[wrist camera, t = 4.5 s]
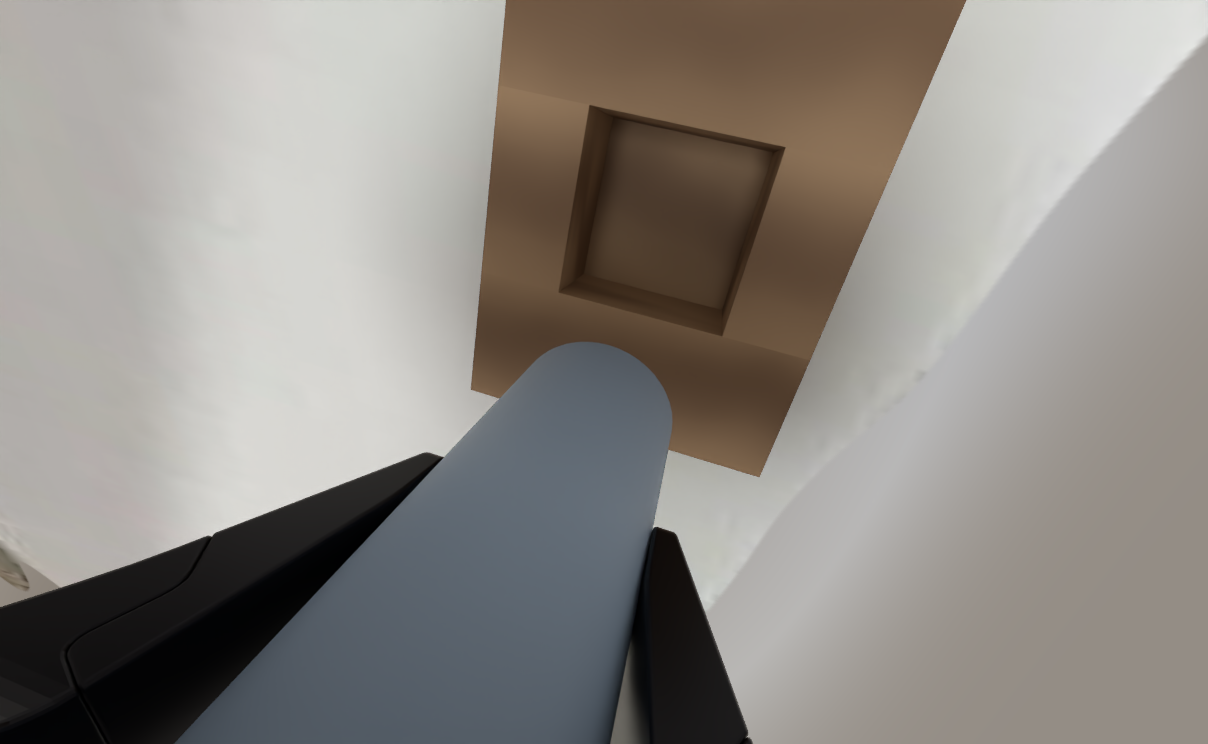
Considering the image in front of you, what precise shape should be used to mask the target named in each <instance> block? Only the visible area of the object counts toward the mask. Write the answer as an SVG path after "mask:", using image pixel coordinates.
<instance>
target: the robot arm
mask: <svg viewBox="0 0 1208 744" xmlns="http://www.w3.org/2000/svg"><path fill="white" fill-rule="evenodd" d="M443 458H444V457H441V456H438V455H435V454H432V453H428V452H426V453H422V454H419V455H416V456H414V457H411V458H409V459H406V460H404V461H401V462H398V463H396V464H393V465H391V466H388V467H385V468H383V469H380V470H378V471H375V472H372V473H370V474H367V475H365V476H362V477H359V478H357V479H354V480H352V481H349V482H346V483H344V484H341V485H339V486H336V487H333V488H331V489H328V490H326V491H323V492H320V493H318V494H315V495H313V496H310V497H307V498H305V499H302V500H300V501H297V502H294V503H292V504H289V505H287V506H284V507H281V508H279V509H276V510H274V511H271V512H268V513H266V514H263V515H261V516H258V517H255V518H253V519H250V520H248V521H245V522H242V523H240V524H237V525H235V526H232V527H229V528H227V529H224V530H222V531H219V532H216V533H215V534H214V535H213V536H212V537H211V536H206V537H203V538H200V539H198V540H195V541H193V542H190V543H187V544H185V545H182V546H180V547H177V548H174V549H171V550H169V551H166V552H163V553H161V554H158V555H155V556H152V557H150V558H147V559H144V560H142V561H139V562H136V563H133V564H131V565H128V566H125V567H122V568H119V569H116V570H113V571H110V572H107V573H104V574H101V575H98V576H95V577H92V578H89V579H86V580H83V581H80V582H77V583H74V584H71V585H68V586H65V587H62V588H58V589H56V590H52V591H49V592H46V593H43V594H40V595H37V596H34V597H31V598H27V599H24V600H21V601H18V602H15V603H12V604H9V605H6V606H3V607H0V744H174V743H175V742H176V741H177V740H178V739H179V738H180V737H181V736H182V735H183V734H184V732H185V731H186V730H187V729H188V728H189V727H190V726H191V725H192V724H193V723H194V722H195V721H196V720H197V719H198V718H199V717H200V716H201V714H202V713H203V712H204V711H205V710H206V709H207V708H208V707H209V706H210V705H211V704H212V703H213V702H214V701H215V700H216V699H217V697H218V696H219V695H220V694H221V693H222V692H223V691H224V690H225V689H226V688H227V687H228V686H229V685H230V684H231V683H232V682H233V681H234V679H235V678H236V677H237V676H238V675H239V674H240V673H241V672H242V671H243V670H244V669H245V668H246V667H247V666H248V665H249V664H250V663H251V661H252V660H253V659H254V658H255V657H256V656H257V655H258V654H259V653H260V652H261V651H262V650H263V649H264V648H265V647H266V646H267V645H268V643H269V642H270V641H271V640H272V639H273V638H274V637H275V636H276V635H277V634H278V633H279V632H280V631H281V630H282V629H283V628H284V626H285V625H286V624H287V623H288V622H289V621H290V620H291V619H292V618H293V617H294V616H295V615H296V614H297V613H298V612H299V611H300V610H301V608H302V607H303V606H304V605H305V604H306V603H307V602H308V601H309V600H310V599H311V598H312V597H313V596H314V595H315V594H316V593H317V592H318V590H319V589H320V588H321V587H322V586H323V585H324V584H325V583H326V582H327V581H328V580H329V579H330V578H331V577H332V576H333V575H334V574H335V572H336V571H337V570H338V569H339V568H340V567H341V566H342V565H343V564H344V563H345V562H346V561H347V560H348V559H349V558H350V557H351V556H352V554H353V553H354V552H355V551H356V550H357V549H358V548H359V547H360V546H361V545H362V544H363V543H364V542H365V541H366V540H367V539H368V537H369V536H370V535H371V534H372V533H373V532H374V531H375V530H376V529H377V528H378V527H379V526H380V525H381V524H382V523H383V522H384V521H385V519H386V518H387V517H388V516H389V515H390V514H391V513H392V512H393V511H394V510H395V509H396V508H397V507H398V506H399V505H400V504H401V503H402V501H403V500H404V499H405V498H406V497H407V496H408V495H409V494H410V493H411V492H412V491H413V490H414V489H415V488H416V487H417V486H418V485H419V483H420V482H421V481H422V480H423V479H424V478H425V477H426V476H427V475H428V474H429V473H430V472H431V471H432V470H433V469H434V468H435V467H436V465H437V464H438V463H439V462H440V461H441V460H442V459H443ZM747 736H748V730H747V727H746V724H745V721H744V719H743V716H742V713H741V711H740V708H739V705H738V702H737V699H736V697H735V694H734V691H733V688H732V686H731V683H730V680H729V678H728V675H727V672H726V669H725V666H724V664H723V661H722V658H721V655H720V653H719V650H718V647H717V645H716V642H715V639H714V636H713V633H712V631H711V628H710V625H709V622H708V620H707V617H706V614H705V611H704V609H703V606H702V603H701V600H700V598H699V595H698V592H697V589H696V587H695V584H694V581H693V578H692V576H691V573H690V570H689V567H688V565H687V562H686V559H685V556H684V554H683V551H682V548H681V545H680V543H679V540H678V537H677V535H676V534H675V533H674V532H671V531H668V530H665V529H662V528H659V527H655V528H653V530H652V532H651V537H650V542H649V547H648V552H647V557H646V562H645V567H644V572H643V577H642V582H641V588H640V593H639V599H638V605H637V610H636V615H635V620H634V625H633V630H632V636H631V641H630V646H629V651H628V656H627V661H626V666H625V671H624V676H623V681H622V686H621V692H620V697H619V702H618V707H617V712H616V717H615V722H614V727H613V732H612V737H611V742H610V744H753V743H752V740H751V739H750V738H748V737H747ZM746 737H747V738H746Z"/></svg>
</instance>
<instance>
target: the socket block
mask: <svg viewBox="0 0 1208 744" xmlns="http://www.w3.org/2000/svg"><path fill="white" fill-rule="evenodd" d="M965 2H966V0H506V8H505V19H504V30H503V41H502V52H501V63H500V74H499V85H498V96H497V107H496V118H495V129H494V140H493V151H492V162H491V173H490V184H489V195H488V207H487V218H486V229H485V240H484V251H483V262H482V273H481V284H480V295H479V306H478V317H477V328H476V339H475V350H474V361H473V372H472V383H471V390H474V391H477V392H481V393H484V394H487V395H490V396H494V397H497V398H501V397H502V396H503V394H504V393H505V392H506V391H507V390H508V389H509V388H510V387H511V386H512V385H513V384H514V383H515V382H516V381H517V380H518V379H519V378H520V376H521V375H522V374H523V373H524V372H525V371H526V370H527V369H528V368H529V367H530V366H531V365H532V364H533V363H534V362H535V361H536V360H537V359H538V358H539V357H540V356H542V355H543V354H544V353H546V352H547V351H549V350H551V349H553V348H555V347H558V346H561V345H564V344H569V343H574V342H595V343H601V344H606V345H610V346H613V347H616V348H618V349H621V350H623V351H625V352H627V353H629V354H630V355H632V356H634V357H635V358H637V359H638V360H639V361H641V362H642V363H643V364H644V365H646V366H647V367H648V368H649V369H650V370H651V372H652V373H653V374H654V375H655V376H656V377H657V379H658V380H659V382H660V383H661V385H662V386H663V388H664V390H665V392H666V394H667V397H668V399H669V402H670V406H671V411H672V432H671V437H670V442H669V447H668V450H671V451H675V452H678V453H681V454H685V455H688V456H691V457H694V458H698V459H701V460H704V461H708V462H711V463H714V464H718V465H721V466H724V467H727V468H731V469H734V470H737V471H741V472H744V473H747V474H750V475H754V476H757V477H760V475H761V472H762V470H763V468H764V465H765V463H766V461H767V458H768V456H769V454H770V452H771V449H772V447H773V445H774V442H775V440H776V438H777V435H778V433H779V431H780V428H781V426H782V424H783V422H784V419H785V417H786V415H787V412H788V410H789V408H790V405H791V403H792V401H793V399H794V396H795V394H796V392H797V389H798V387H799V385H800V382H801V380H802V378H803V375H804V373H805V371H806V369H807V366H808V364H809V362H810V359H811V357H812V355H813V352H814V350H815V348H816V345H817V343H818V341H819V339H820V336H821V334H822V332H823V329H824V327H825V325H826V322H827V320H828V318H829V316H830V313H831V311H832V309H833V306H834V304H835V302H836V299H837V297H838V295H839V292H840V290H841V288H842V286H843V283H844V281H845V279H846V276H847V274H848V272H849V269H850V267H851V265H852V262H853V260H854V258H855V256H856V253H857V251H858V249H859V246H860V244H861V242H862V239H863V237H864V235H865V233H866V230H867V228H868V226H869V223H870V221H871V219H872V216H873V214H874V212H875V209H876V207H877V205H878V203H879V200H880V198H881V196H882V193H883V191H884V189H885V186H886V184H887V182H888V179H889V177H890V175H891V173H892V170H893V168H894V166H895V163H896V161H897V159H898V156H899V154H900V152H901V150H902V147H903V145H904V143H905V140H906V138H907V136H908V133H909V131H910V129H911V126H912V124H913V122H914V120H915V117H916V115H917V113H918V110H919V108H920V106H921V103H922V101H923V99H924V97H925V94H926V92H927V90H928V87H929V85H930V83H931V80H932V78H933V76H934V73H935V71H936V69H937V67H938V64H939V62H940V60H941V57H942V55H943V53H944V50H945V48H946V46H947V43H948V41H949V39H950V37H951V34H952V32H953V30H954V27H955V25H956V23H957V20H958V18H959V16H960V14H961V11H962V9H963V7H964V4H965Z"/></svg>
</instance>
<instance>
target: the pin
mask: <svg viewBox="0 0 1208 744" xmlns="http://www.w3.org/2000/svg"><path fill="white" fill-rule="evenodd" d="M671 432H672V411H671V406H670V402H669V399H668V397H667V394H666V392H665V390H664V388H663V386H662V385H661V383H660V382H659V380H658V379H657V377H656V376H655V375H654V374H653V373H652V372H651V370H650V369H649V368H648V367H647V366H646V365H644V364H643V363H642V362H641V361H639V360H638V359H637V358H635V357H634V356H632V355H630V354H629V353H627V352H625V351H623V350H621V349H618V348H616V347H613V346H610V345H606V344H601V343H595V342H574V343H569V344H564V345H561V346H558V347H555V348H553V349H551V350H549V351H547V352H546V353H544V354H543V355H542V356H540V357H539V358H538V359H537V360H536V361H535V362H534V363H533V364H532V365H531V366H530V367H529V368H528V369H527V370H526V371H525V372H524V373H523V374H522V375H521V376H520V378H519V379H518V380H517V381H516V382H515V383H514V384H513V385H512V386H511V387H510V388H509V389H508V390H507V391H506V392H505V393H504V394H503V396H502V397H501V398H500V399H499V400H498V401H497V402H496V403H495V404H494V405H493V406H492V407H491V408H490V409H489V410H488V411H487V412H486V414H485V415H484V416H483V417H482V418H481V419H480V420H479V421H478V422H477V423H476V424H475V425H474V426H473V427H472V428H471V429H470V430H469V432H468V433H467V434H466V435H465V436H464V437H463V438H462V439H461V440H460V441H459V442H458V443H457V444H456V445H455V446H454V447H453V448H452V450H451V451H450V452H449V453H448V454H447V455H446V456H445V457H444V458H443V459H442V460H441V461H440V462H439V463H438V464H437V465H436V467H435V468H434V469H433V470H432V471H431V472H430V473H429V474H428V475H427V476H426V477H425V478H424V479H423V480H422V481H421V482H420V483H419V485H418V486H417V487H416V488H415V489H414V490H413V491H412V492H411V493H410V494H409V495H408V496H407V497H406V498H405V499H404V500H403V501H402V503H401V504H400V505H399V506H398V507H397V508H396V509H395V510H394V511H393V512H392V513H391V514H390V515H389V516H388V517H387V518H386V519H385V521H384V522H383V523H382V524H381V525H380V526H379V527H378V528H377V529H376V530H375V531H374V532H373V533H372V534H371V535H370V536H369V537H368V539H367V540H366V541H365V542H364V543H363V544H362V545H361V546H360V547H359V548H358V549H357V550H356V551H355V552H354V553H353V554H352V556H351V557H350V558H349V559H348V560H347V561H346V562H345V563H344V564H343V565H342V566H341V567H340V568H339V569H338V570H337V571H336V572H335V574H334V575H333V576H332V577H331V578H330V579H329V580H328V581H327V582H326V583H325V584H324V585H323V586H322V587H321V588H320V589H319V590H318V592H317V593H316V594H315V595H314V596H313V597H312V598H311V599H310V600H309V601H308V602H307V603H306V604H305V605H304V606H303V607H302V608H301V610H300V611H299V612H298V613H297V614H296V615H295V616H294V617H293V618H292V619H291V620H290V621H289V622H288V623H287V624H286V625H285V626H284V628H283V629H282V630H281V631H280V632H279V633H278V634H277V635H276V636H275V637H274V638H273V639H272V640H271V641H270V642H269V643H268V645H267V646H266V647H265V648H264V649H263V650H262V651H261V652H260V653H259V654H258V655H257V656H256V657H255V658H254V659H253V660H252V661H251V663H250V664H249V665H248V666H247V667H246V668H245V669H244V670H243V671H242V672H241V673H240V674H239V675H238V676H237V677H236V678H235V679H234V681H233V682H232V683H231V684H230V685H229V686H228V687H227V688H226V689H225V690H224V691H223V692H222V693H221V694H220V695H219V696H218V697H217V699H216V700H215V701H214V702H213V703H212V704H211V705H210V706H209V707H208V708H207V709H206V710H205V711H204V712H203V713H202V714H201V716H200V717H199V718H198V719H197V720H196V721H195V722H194V723H193V724H192V725H191V726H190V727H189V728H188V729H187V730H186V731H185V732H184V734H183V735H182V736H181V737H180V738H179V739H178V740H177V741H176V742H175V743H174V744H610V742H611V737H612V732H613V727H614V722H615V717H616V712H617V707H618V702H619V697H620V692H621V686H622V681H623V676H624V671H625V666H626V661H627V656H628V651H629V646H630V641H631V636H632V630H633V625H634V620H635V615H636V610H637V605H638V599H639V593H640V588H641V582H642V577H643V572H644V567H645V562H646V557H647V552H648V547H649V542H650V537H651V532H652V529H653V524H654V519H655V513H656V508H657V503H658V498H659V493H660V488H661V483H662V478H663V473H664V468H665V463H666V457H667V452H668V447H669V442H670V437H671Z"/></svg>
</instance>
